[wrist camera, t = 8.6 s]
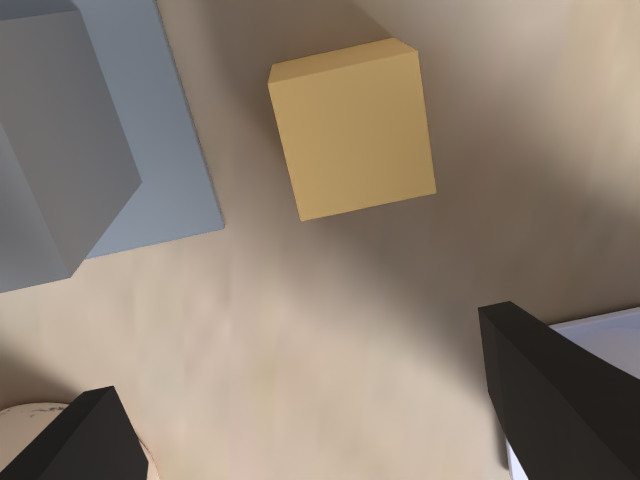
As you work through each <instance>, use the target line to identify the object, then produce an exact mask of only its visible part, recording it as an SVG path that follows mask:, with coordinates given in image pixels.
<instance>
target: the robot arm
mask: <svg viewBox="0 0 640 480" xmlns="http://www.w3.org/2000/svg"><path fill="white" fill-rule="evenodd" d="M478 312H479V320H480V328H481V336H482V345H483V353H484V361H485V369H486V377H487V385H488V392H489V395H490V398H491V400H492V403H493V406H494V408H495V411H496V413H497V416H498V419H499V421H500V423H501V426H502V428H503V431H504V433H505V439H506V448H507V456H508V465H509V474H510V477H511V479H512V480H640V307H637V308H632V309H627V310H622V311H618V312H613V313H608V314H603V315H598V316H593V317H588V318H584V319H579V320H574V321H569V322H564V323H559V324H554V325H550V326H547V325H546V324H544V323H543V322H541V321H540V320H538V319H537V318H535V317H534V316H532V315H531V314H529V313H527V312H526V311H524V310H523V309H521V308H520V307H518V306H517V305H515V304H514V303H512V302H511V301H508V302H503V303H498V304H494V305H489V306H484V307H479V308H478ZM148 465H149V462H148V460H147V457H146V455H145V453H144V451H143V449H142V446H141V444H140V442H139V440H138V438H137V436H136V433H135V431H134V429H133V427H132V425H131V423H130V420H129V418H128V416H127V414H126V412H125V410H124V407H123V405H122V403H121V401H120V399H119V396H118V394H117V392H116V390H115V388H114V386H109V387H104V388H100V389H95V390H90V391H85V392H83V393H82V394H81V395H79V396H78V397H77V398H76V399H75V400H74V401H73V402H71V403H70V404H69V405H68V406H67V407H66V408H65V409H64V410H63V411H62V412H61V413H60V414H59V415H58V416H57V417H56V418H55V419H54V420H53V421H52V422H51V423H50V424H49V425H48V426H47V427H46V428H45V429H44V430H43V431H42V432H41V433H40V434H39V435H38V436H37V437H36V438H35V439H34V440H33V441H32V442H30V443H29V444H28V445H27V446H26V447H25V448H24V449H23V450H22V451H21V452H20V453H19V454H18V455H17V456H16V457H15V458H14V459H13V460H12V461H11V462H10V463H9V464H8V465H7V466H6V467H5V468H4V469H3V470H2V471H1V472H0V480H147V474H148Z"/></svg>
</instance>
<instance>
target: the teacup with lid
mask: <svg viewBox="0 0 640 480" xmlns="http://www.w3.org/2000/svg"><path fill="white" fill-rule="evenodd" d="M68 405H69V404H61V403H31V404H23V405H18V406H14V407H10V408H7V409H4V410H2V411H0V472H1V471H2V470H3V469H4V468H5V467H6V466H7V465H8V464H9V463H10V462H11V461H12V460H13V459H14V458H15V457H16V456H17V455H18V454H19V453H20V452H21V451H22V450H23V449H24V448H25V447H26V446H27V445H28V444H29V443H30V442H32V441H33V440H34V439H35V438H36V437H37V436H38V435H39V434H40V433H41V432H42V431H43V430H44V429H45V428H46V427H47V426H48V425H49V424H50V423H51V422H52V421H53V420H54V419H55V418H56V417H57V416H58V415H59V414H60V413H61V412H62V411H63V410H64V409H65V408H66V407H67V406H68ZM139 442H140V441H139ZM140 444H141V446H142V449H143V451H144V453H145V455H146V457H147V460H148V462H149V465H148V474H147V480H159V476H158V472H157V469H156V466H155V463H154V461H153V459H152V457H151V455H150V454H149V452H148V451H147V449H146V448H145V447H144V445H143V444H142V443H141V442H140Z"/></svg>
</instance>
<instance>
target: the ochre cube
mask: <svg viewBox="0 0 640 480" xmlns="http://www.w3.org/2000/svg"><path fill="white" fill-rule="evenodd" d="M268 88H269V93H270V97H271V101H272V105H273V109H274V113H275V118H276V122H277V126H278V130H279V134H280V138H281V142H282V147H283V151H284V155H285V159H286V163H287V167H288V171H289V176H290V180H291V184H292V188H293V192H294V196H295V201H296V205H297V209H298V213H299V217H300V221H306V220H311V219H316V218H320V217H325V216H330V215H335V214H340V213H344V212H349V211H354V210H359V209H363V208H368V207H373V206H378V205H382V204H387V203H392V202H397V201H401V200H406V199H411V198H416V197H420V196H425V195H430V194H435V193H437V192H436V185H435V177H434V170H433V163H432V155H431V148H430V140H429V133H428V125H427V118H426V110H425V103H424V95H423V88H422V80H421V73H420V65H419V58H418V51H417V50H415V49H414V48H412V47H410V46H408V45H407V44H405V43H403V42H401V41H400V40H398V39H396V38H394V37H393V38H388V39H384V40H379V41H375V42H370V43H366V44H361V45H357V46H352V47H348V48H343V49H339V50H334V51H330V52H325V53H321V54H316V55H312V56H307V57H303V58H298V59H294V60H289V61H285V62H280V63H276V64H272V68H271V72H270V76H269V80H268Z"/></svg>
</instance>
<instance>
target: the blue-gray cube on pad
mask: <svg viewBox="0 0 640 480" xmlns="http://www.w3.org/2000/svg"><path fill="white" fill-rule="evenodd" d="M141 184H142V180H141V177H140V174H139V172H138V169H137V166H136V163H135V161H134V158H133V155H132V152H131V150H130V147H129V144H128V141H127V139H126V136H125V133H124V130H123V127H122V125H121V122H120V119H119V116H118V114H117V111H116V108H115V105H114V103H113V100H112V97H111V94H110V92H109V89H108V86H107V83H106V81H105V78H104V75H103V72H102V70H101V67H100V64H99V61H98V59H97V56H96V53H95V50H94V48H93V45H92V42H91V39H90V37H89V34H88V31H87V28H86V26H85V23H84V20H83V17H82V15H81V12H80V10H76V11H69V12H61V13H54V14H47V15H39V16H32V17H25V18H18V19H10V20H3V21H0V293H3V292H8V291H12V290H17V289H21V288H26V287H31V286H35V285H40V284H44V283H49V282H53V281H58V280H63V279H67V278H71V276H72V275H73V274H74V272H75V271H76V270H77V268H78V267H79V266H80V264H81V263H82V262H83V260H84V259H85V258H86V256H87V255H88V254H89V252H90V251H91V250H92V248H93V247H94V246H95V245H96V243H97V242H98V241H99V239H100V238H101V237H102V235H103V234H104V233H105V231H106V230H107V229H108V227H109V226H110V225H111V223H112V222H113V221H114V219H115V218H116V217H117V215H118V214H119V213H120V211H121V210H122V209H123V207H124V206H125V205H126V203H127V202H128V201H129V199H130V198H131V197H132V195H133V194H134V193H135V192H136V190H137V189H138V188H139V186H140V185H141Z"/></svg>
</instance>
